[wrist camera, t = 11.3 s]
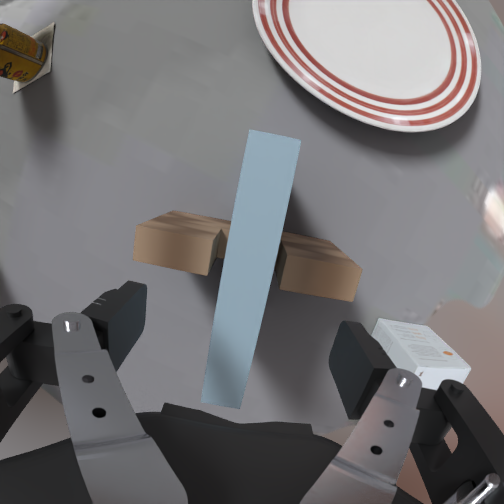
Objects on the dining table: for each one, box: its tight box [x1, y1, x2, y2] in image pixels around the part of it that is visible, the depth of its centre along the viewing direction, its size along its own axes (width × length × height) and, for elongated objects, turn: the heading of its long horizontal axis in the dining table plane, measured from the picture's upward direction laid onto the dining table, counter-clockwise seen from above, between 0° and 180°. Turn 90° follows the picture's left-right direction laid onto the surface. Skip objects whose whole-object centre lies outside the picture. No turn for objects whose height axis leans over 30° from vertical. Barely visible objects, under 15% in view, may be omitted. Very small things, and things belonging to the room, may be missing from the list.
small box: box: [371, 318, 471, 390], centre depth 28 cm, size 8×6×10 cm
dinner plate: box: [252, 0, 481, 132], centre depth 23 cm, size 28×27×3 cm
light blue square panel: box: [201, 130, 301, 409], centre depth 23 cm, size 2×16×15 cm, turn 169°
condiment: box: [0, 22, 54, 93], centre depth 19 cm, size 7×8×12 cm
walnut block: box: [133, 211, 362, 302], centre depth 25 cm, size 16×2×10 cm, turn 79°
